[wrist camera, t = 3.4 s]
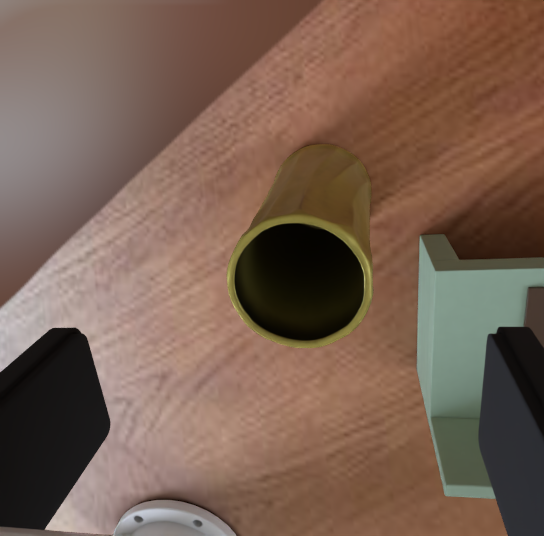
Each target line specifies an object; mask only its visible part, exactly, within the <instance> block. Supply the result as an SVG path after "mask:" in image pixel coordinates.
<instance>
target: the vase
mask: <svg viewBox="0 0 544 536" xmlns="http://www.w3.org/2000/svg"><path fill="white" fill-rule="evenodd" d="M370 203H371V182H370V178H369V176H368V173H367V171H366V169H365V168H364V166H363V164H362V163H361V161H360V160H359V159H358V158H357V157H356V156H354V155H353V154H352V153H350V152H348V151H347V150H345V149H342V148H340V147H337V146H334V145H330V144H316V145H310V146H306V147H303V148H301V149H299V150H298V151H296V152H294V153H293V154H292V155H290V156H289V157H288V158H287V159H286V160H285V161H284V163H283V164H282V165H281V167H280V168H279V170H278V172H277V174H276V177H275V180H274V183H273V185H272V187H271V189H270V190H269V192H268V195H267V197H266V198H265V200H264V202H263V204H262V206H261V207H260V209H259V211H258V213H257V214H256V216H255V217H254V219H253V221H252V223H251V225H250V227H249V229H248V230H247V231H246V232H245V233H244V234H243V235H242V236H241V238H240V240H239V241H238V243H237V245H236V247H235V249H234V251H233V253H232V256H231V258H230V261H229V264H228V268H227V286H228V292H229V296H230V299H231V302H232V304H233V305H234V307H235V309H236V311H237V312H238V314H239V316H240V317H241V319H242V320H243V321H244V322H245V324H246V325H247V326H248V327H249V328H251V329H252V330H253V331H254V332H256V333H257V334H259V335H260V336H262V337H264V338H266V339H268V340H271V341H273V342H276V343H279V344H282V345H285V346H289V347H295V348H316V347H322V346H326V345H328V344H331V343H333V342H335V341H337V340H339V339H341V338H343V337H345V336H346V335H348V334H349V333H351V332H352V331H353V330H354V329H355V328H356V327H357V326H358V325H359V324H360V322H361V321H362V320H363V318H364V316H365V315H366V313H367V311H368V309H369V306H370V304H371V300H372V296H373V277H372V273H373V264H372V255H371V250H370V240H369V236H370V207H369V206H370Z"/></svg>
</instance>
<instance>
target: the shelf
mask: <svg viewBox="0 0 544 536" xmlns="http://www.w3.org/2000/svg"><path fill="white" fill-rule="evenodd" d="M499 327H529V328H530V329H531V330H532V331H533V333H534V334H535V336H536V337H537V339H538V340H539V342H540V343H541V345H542V346H543V348H544V257H540V258H507V259H474V260H459V258H458V257H457V255H456V253H455V252H454V250H453V248H452V246H451V245H450V243H449V241H448V240H447V238H446V236H445V234H433V235H420V245H419V289H418V334H417V373H418V377H419V382H420V386H421V391H422V395H423V400H424V404H425V409H426V413H427V418H428V422H429V427H430V431H431V435H432V440H433V444H434V449H435V453H436V458H437V462H438V467H439V471H440V476H441V480H442V485H443V489H444V494H445V496H454V497H472V498H490V499H496V498H495V495H494V492H493V488H492V485H491V482H490V479H489V476H488V473H487V470H486V467H485V464H484V461H483V458H482V455H481V452H480V447H479V440H478V432H479V421H480V410H481V399H482V388H483V377H484V365H485V354H486V343H487V337H488V334H496V332H497V329H498V328H499Z"/></svg>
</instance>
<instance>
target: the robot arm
mask: <svg viewBox="0 0 544 536" xmlns="http://www.w3.org/2000/svg"><path fill="white" fill-rule="evenodd" d="M109 430H110V418H109V415H108V411H107V407H106V404H105V400H104V397H103V393H102V390H101V386H100V383H99V379H98V375H97V372H96V368H95V365H94V361H93V358H92V354H91V350H90V347H89V343H88V340H87V337H86V336H85V335H84V334H81V332H80V331H79V330H78V329H77V328H52V329H51V330H49V331H48V332H47V333H46V334H44V335H43V336H42V337H41V338H40V339H39V340H37V341H36V342H35V343H34V344H33V345H32V346H30V347H29V348H28V349H27V350H26V351H25V352H23V353H22V354H21V355H20V356H19V357H18V358H17V359H15V360H14V361H13V362H12V363H11V364H10V365H8V366H7V367H6V368H5V369H4V370H3V371H1V372H0V536H112V535H100V534H88V533H75V532H62V531H49V530H44V529H45V528H46V526H47V525H48V523H49V522H50V520H51V519H52V517H53V516H54V515H55V513H56V512H57V510H58V509H59V507H60V506H61V504H62V503H63V501H64V500H65V498H66V497H67V495H68V494H69V492H70V491H71V489H72V488H73V486H74V485H75V483H76V482H77V480H78V479H79V477H80V476H81V474H82V473H83V471H84V470H85V468H86V467H87V465H88V464H89V462H90V461H91V459H92V458H93V456H94V455H95V453H96V452H97V450H98V449H99V447H100V446H101V444H102V443H103V441H104V440H105V438H106V437H107V435H108V433H109ZM478 440H479V447H480V452H481V455H482V458H483V461H484V464H485V467H486V470H487V473H488V476H489V479H490V482H491V485H492V488H493V492H494V495H495V498H496V501H497V504H498V507H499V510H500V513H501V516H502V519H503V522H504V525H505V528H506V531H507V534H508V536H544V348H543V346H542V345H541V343H540V342H539V340H538V339H537V337H536V336H535V334H534V333H533V331H532V330H531V329H530V328H529V327H499V328H498V329H497V332H496V334H488V337H487V343H486V354H485V365H484V377H483V388H482V399H481V410H480V421H479V432H478ZM113 536H237V535H236V534H235V533H234V532H233V531H232V529H231V528H230V527H229V526H228V525H227V524H226V523H224V522H223V521H222V520H221V519H220V518H218V517H217V516H215V515H213V514H212V513H210V512H208V511H207V510H205V509H202V508H200V507H198V506H195V505H192V504H189V503H185V502H181V501H174V500H154V501H148V502H144V503H141V504H138V505H136V506H134V507H132V508H131V509H129V510H128V511H127V512H126V513H125V514H124V515H123V516H122V517H121V519H120V521H119V523H118V525H117V526H116V528H115V531H114V534H113Z"/></svg>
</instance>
